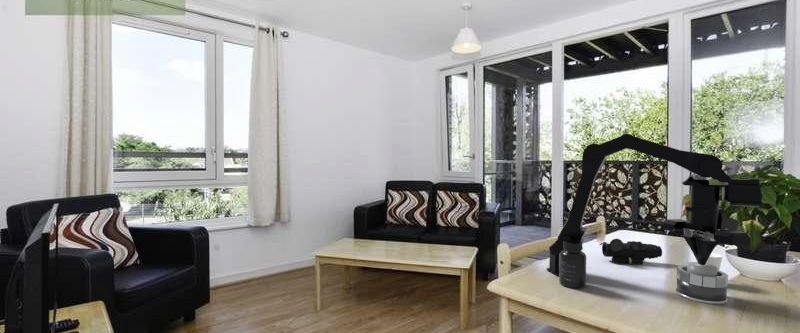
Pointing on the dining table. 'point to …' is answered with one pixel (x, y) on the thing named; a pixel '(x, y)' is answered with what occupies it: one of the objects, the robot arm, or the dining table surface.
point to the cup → (712, 260)
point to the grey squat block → (702, 269)
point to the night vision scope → (630, 251)
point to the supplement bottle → (572, 265)
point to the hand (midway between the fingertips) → (701, 264)
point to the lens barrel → (702, 286)
